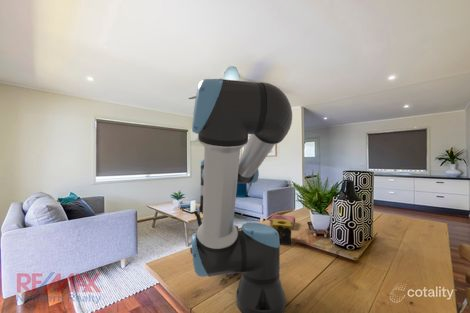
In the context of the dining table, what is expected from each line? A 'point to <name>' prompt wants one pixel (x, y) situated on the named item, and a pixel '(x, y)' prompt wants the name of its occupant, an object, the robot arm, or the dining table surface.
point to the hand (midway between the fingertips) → (208, 248)
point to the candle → (283, 230)
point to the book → (283, 217)
